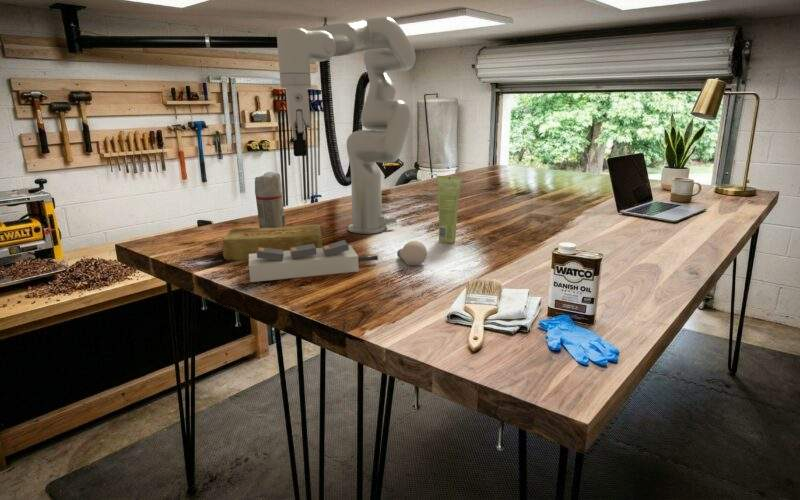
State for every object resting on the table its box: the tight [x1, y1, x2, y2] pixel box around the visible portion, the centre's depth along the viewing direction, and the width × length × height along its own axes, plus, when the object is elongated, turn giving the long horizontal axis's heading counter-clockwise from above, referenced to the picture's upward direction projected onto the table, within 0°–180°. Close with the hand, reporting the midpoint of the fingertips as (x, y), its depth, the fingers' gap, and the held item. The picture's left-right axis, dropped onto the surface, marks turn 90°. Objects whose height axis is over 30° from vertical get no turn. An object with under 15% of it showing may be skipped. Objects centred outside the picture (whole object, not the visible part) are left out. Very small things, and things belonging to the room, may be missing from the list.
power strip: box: [248, 244, 379, 283], centre depth 128 cm, size 32×10×4 cm, turn 106°
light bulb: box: [396, 240, 428, 267], centre depth 132 cm, size 7×7×11 cm
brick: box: [222, 224, 323, 262], centre depth 142 cm, size 13×26×7 cm, turn 100°
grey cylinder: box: [254, 171, 287, 228], centre depth 155 cm, size 8×8×20 cm
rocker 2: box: [290, 244, 317, 259], centre depth 125 cm, size 6×4×2 cm, turn 105°
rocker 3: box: [322, 239, 349, 257], centre depth 127 cm, size 6×4×2 cm, turn 105°
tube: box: [436, 175, 463, 244], centre depth 149 cm, size 6×5×20 cm
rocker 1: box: [257, 247, 284, 261], centre depth 123 cm, size 6×4×2 cm, turn 107°
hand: (300, 155), depth 132 cm, fingers closed
